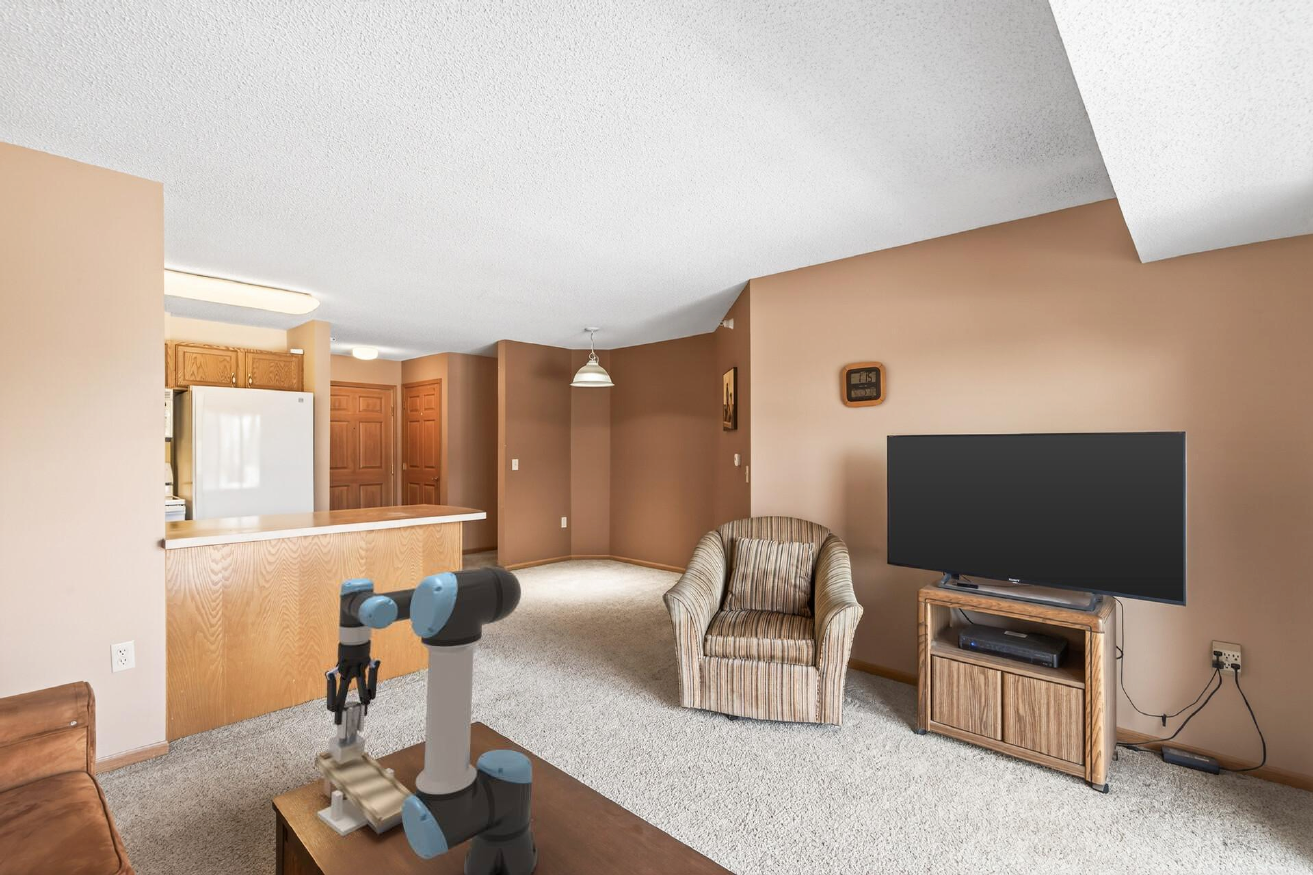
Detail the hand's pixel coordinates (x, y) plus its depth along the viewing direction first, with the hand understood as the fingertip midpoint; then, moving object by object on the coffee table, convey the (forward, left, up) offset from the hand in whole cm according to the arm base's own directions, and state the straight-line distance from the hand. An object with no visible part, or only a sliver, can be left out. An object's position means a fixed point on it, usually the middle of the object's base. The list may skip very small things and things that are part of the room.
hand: (350, 732), depth 151 cm
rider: (+2, 0, -6) cm, 6 cm away
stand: (-3, 0, -17) cm, 17 cm away
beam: (-7, 0, -13) cm, 15 cm away
